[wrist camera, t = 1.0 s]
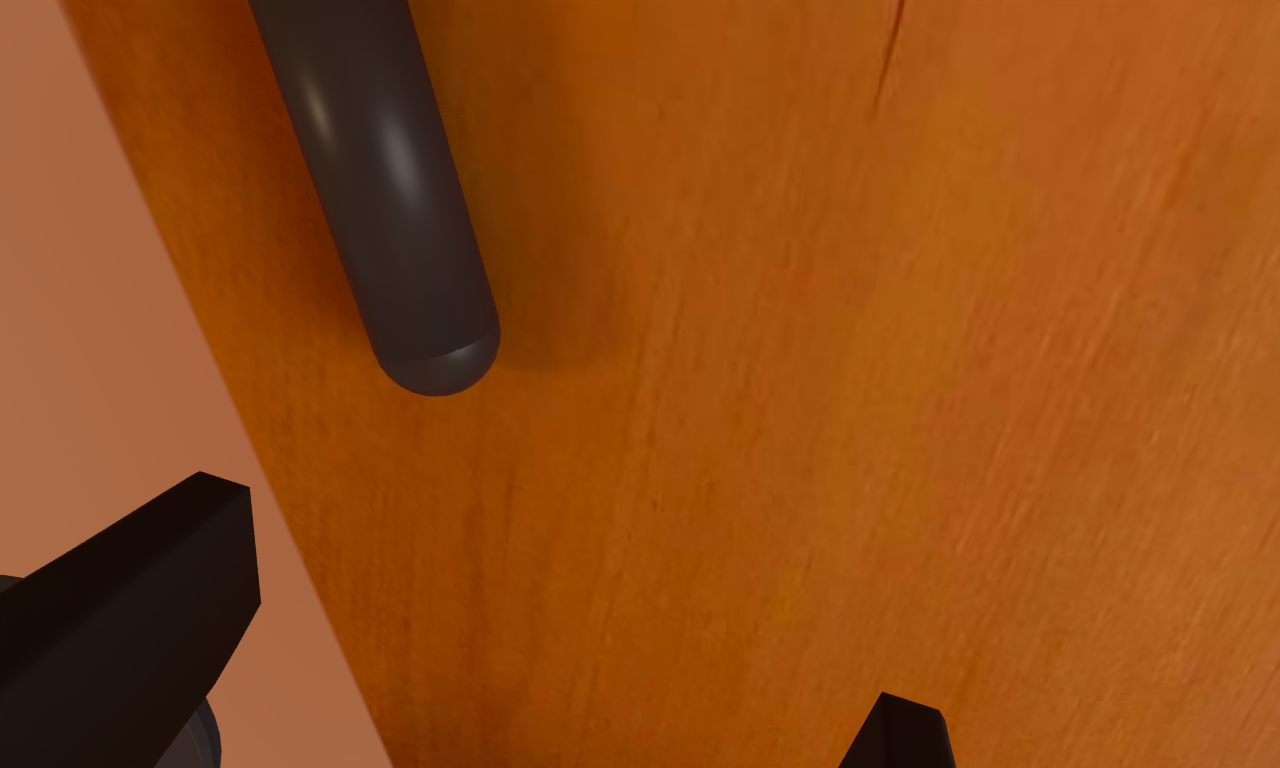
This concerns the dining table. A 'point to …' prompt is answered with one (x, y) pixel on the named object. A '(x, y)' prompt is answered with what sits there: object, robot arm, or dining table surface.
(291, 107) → the spatula
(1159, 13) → the dining table surface
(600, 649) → the dining table surface
